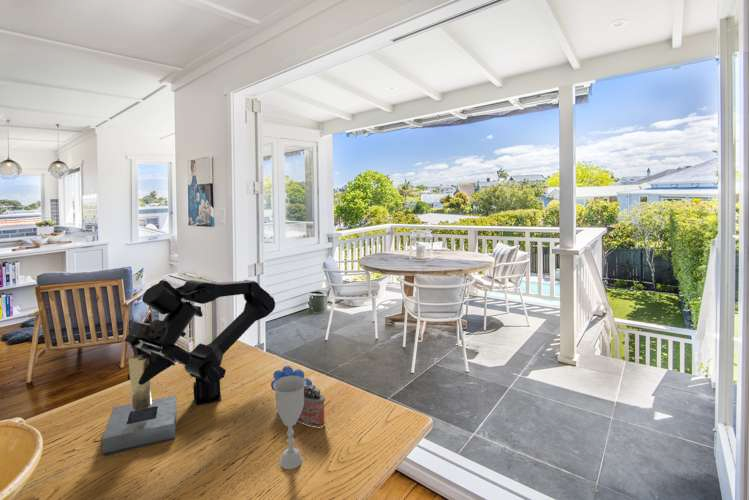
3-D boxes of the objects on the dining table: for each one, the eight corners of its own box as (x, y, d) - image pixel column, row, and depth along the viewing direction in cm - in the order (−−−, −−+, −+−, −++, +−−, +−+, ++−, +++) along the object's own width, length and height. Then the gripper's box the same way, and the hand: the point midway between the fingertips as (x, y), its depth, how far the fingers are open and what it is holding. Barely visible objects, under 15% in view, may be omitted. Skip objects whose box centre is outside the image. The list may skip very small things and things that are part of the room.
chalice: (277, 450, 86) (276, 375, 83) (308, 449, 86) (307, 375, 84) (272, 473, 78) (270, 392, 76) (304, 472, 79) (304, 391, 77)
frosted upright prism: (155, 401, 92) (152, 355, 91) (143, 410, 88) (139, 362, 87) (141, 400, 93) (137, 354, 91) (128, 409, 89) (124, 361, 87)
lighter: (327, 423, 96) (327, 386, 95) (320, 430, 93) (320, 392, 92) (301, 415, 100) (301, 379, 98) (293, 422, 97) (293, 385, 95)
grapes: (266, 415, 99) (265, 372, 98) (274, 402, 106) (273, 361, 104) (309, 417, 99) (309, 374, 97) (315, 403, 105) (314, 363, 104)
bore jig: (176, 409, 102) (175, 395, 101) (175, 438, 89) (174, 423, 89) (114, 421, 95) (113, 407, 95) (103, 455, 83) (102, 438, 82)
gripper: (128, 302, 95) (83, 359, 87) (176, 313, 87) (131, 378, 79) (160, 323, 103) (121, 377, 95) (207, 335, 95) (168, 396, 87)
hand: (134, 382), depth 89 cm, fingers closed on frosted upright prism, 4 cm apart
